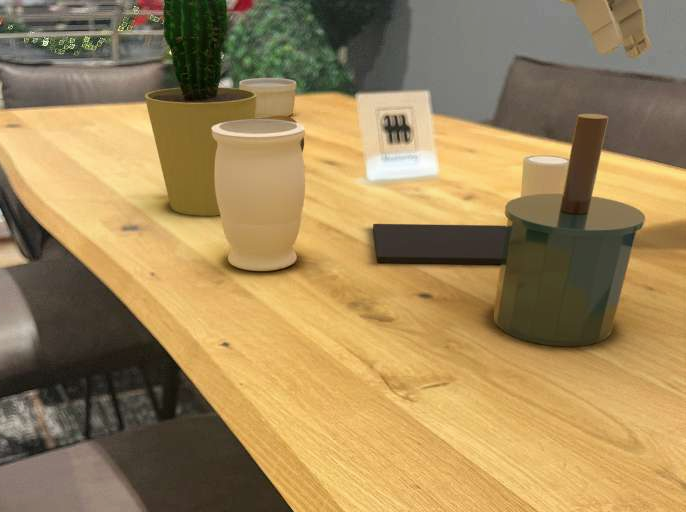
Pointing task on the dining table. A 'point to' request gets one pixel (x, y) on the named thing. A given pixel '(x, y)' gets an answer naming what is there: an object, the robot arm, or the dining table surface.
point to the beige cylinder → (543, 175)
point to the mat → (439, 243)
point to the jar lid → (578, 194)
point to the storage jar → (560, 286)
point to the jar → (260, 190)
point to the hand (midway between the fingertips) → (626, 52)
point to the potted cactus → (194, 104)
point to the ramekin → (271, 95)
